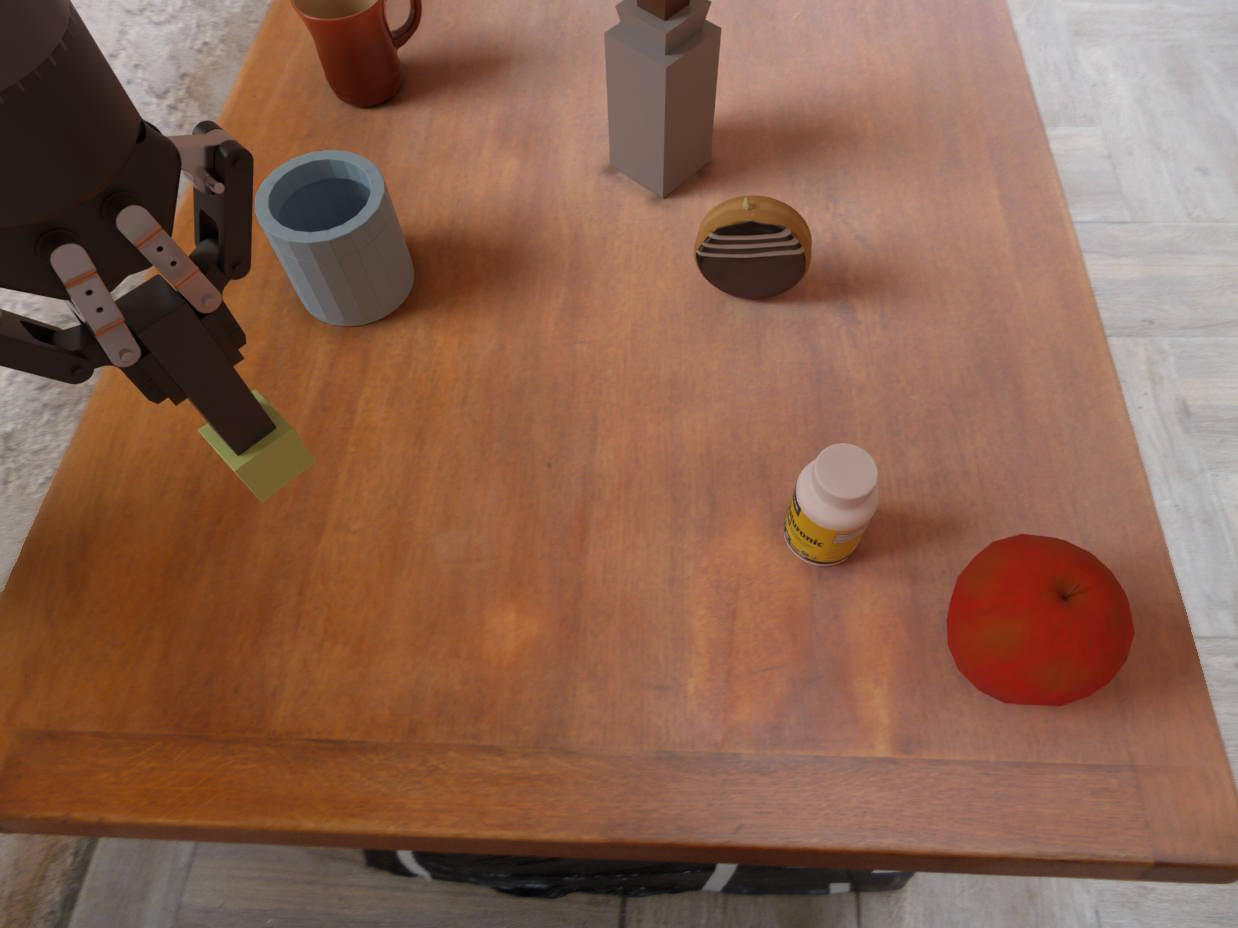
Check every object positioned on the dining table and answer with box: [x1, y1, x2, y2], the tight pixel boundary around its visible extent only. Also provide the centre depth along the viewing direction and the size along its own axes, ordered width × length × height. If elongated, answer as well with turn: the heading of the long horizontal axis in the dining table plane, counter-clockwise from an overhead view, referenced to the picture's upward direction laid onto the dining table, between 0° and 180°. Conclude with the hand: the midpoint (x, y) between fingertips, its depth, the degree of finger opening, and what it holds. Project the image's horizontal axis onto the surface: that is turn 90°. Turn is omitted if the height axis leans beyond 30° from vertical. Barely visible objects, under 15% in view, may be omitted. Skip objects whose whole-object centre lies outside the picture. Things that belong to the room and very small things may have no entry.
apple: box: [946, 533, 1136, 707], centre depth 52 cm, size 10×10×12 cm
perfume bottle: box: [603, 0, 722, 199], centre depth 73 cm, size 7×7×18 cm
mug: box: [290, 0, 423, 108], centre depth 83 cm, size 12×9×10 cm
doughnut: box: [693, 195, 813, 300], centre depth 69 cm, size 9×4×10 cm, turn 79°
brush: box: [114, 273, 317, 504], centre depth 42 cm, size 4×4×14 cm
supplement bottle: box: [782, 442, 880, 567], centre depth 57 cm, size 5×5×10 cm
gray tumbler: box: [254, 149, 416, 327], centre depth 70 cm, size 10×10×10 cm
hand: (199, 371), depth 40 cm, fingers closed on brush, 2 cm apart
